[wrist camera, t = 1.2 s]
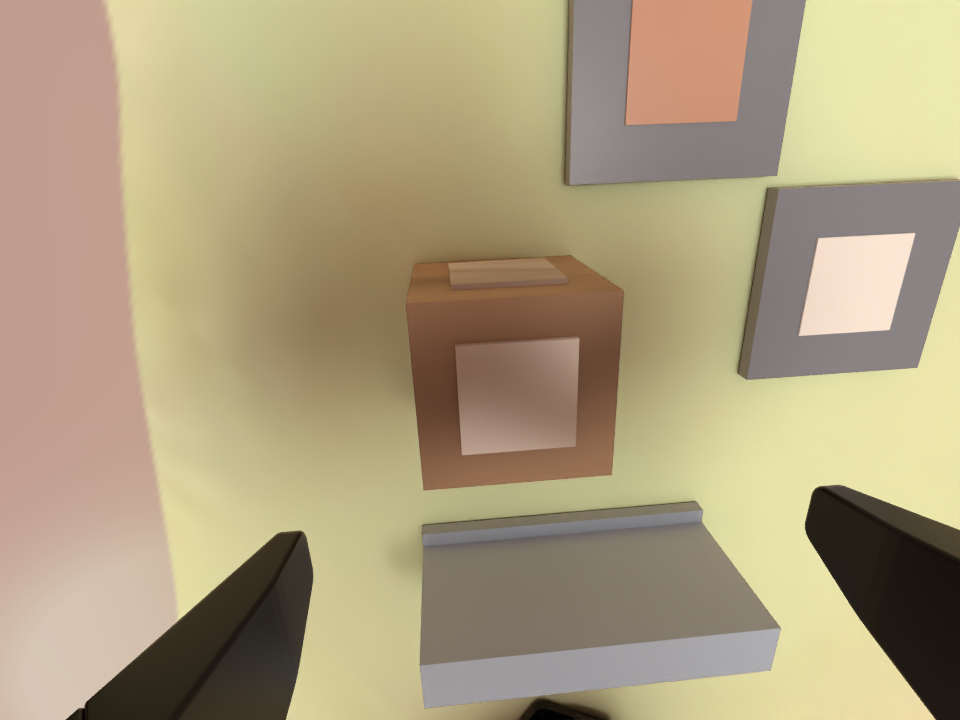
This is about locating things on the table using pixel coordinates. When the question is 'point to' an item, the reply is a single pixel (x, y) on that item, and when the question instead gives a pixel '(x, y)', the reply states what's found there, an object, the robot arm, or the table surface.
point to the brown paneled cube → (513, 370)
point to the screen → (583, 605)
